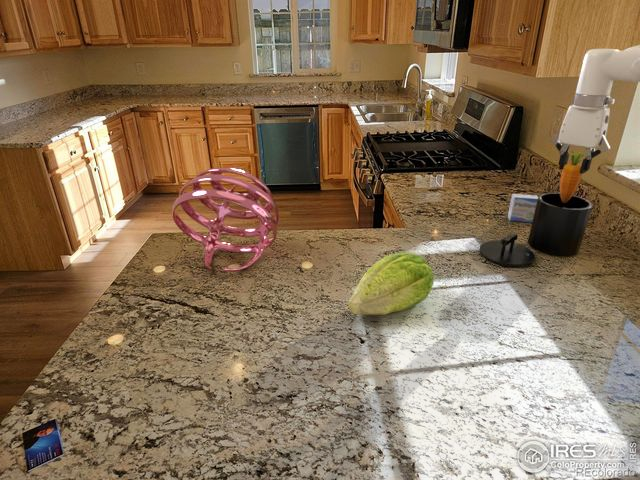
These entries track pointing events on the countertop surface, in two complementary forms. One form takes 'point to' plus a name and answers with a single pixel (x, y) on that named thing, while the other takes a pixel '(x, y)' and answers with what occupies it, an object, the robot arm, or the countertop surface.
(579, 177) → the carrot
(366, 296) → the lettuce
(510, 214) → the medicine box
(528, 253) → the bin lid
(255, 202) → the pink openwork sphere
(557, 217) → the trash can
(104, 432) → the countertop surface
